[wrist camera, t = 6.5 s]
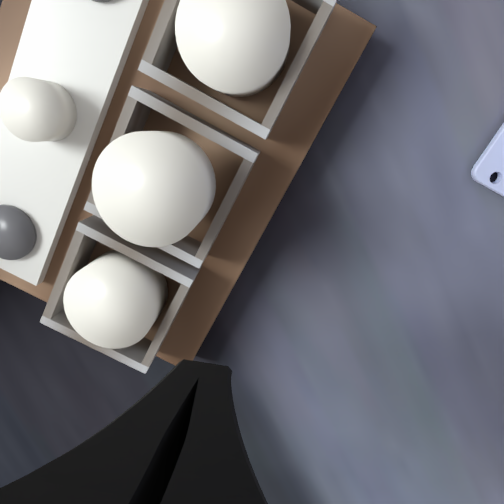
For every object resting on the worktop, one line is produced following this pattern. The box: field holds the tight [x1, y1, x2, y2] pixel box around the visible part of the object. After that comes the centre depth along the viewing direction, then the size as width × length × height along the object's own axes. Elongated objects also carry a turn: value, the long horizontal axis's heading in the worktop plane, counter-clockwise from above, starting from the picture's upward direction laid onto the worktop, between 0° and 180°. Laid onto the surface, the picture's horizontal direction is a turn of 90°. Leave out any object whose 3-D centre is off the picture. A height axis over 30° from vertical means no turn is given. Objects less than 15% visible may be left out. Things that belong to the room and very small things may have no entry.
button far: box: [63, 250, 168, 349], centre depth 18 cm, size 4×4×2 cm
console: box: [0, 0, 377, 374], centre depth 18 cm, size 14×18×4 cm
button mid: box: [92, 131, 216, 247], centre depth 15 cm, size 4×4×2 cm
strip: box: [0, 0, 149, 286], centre depth 17 cm, size 4×16×2 cm, turn 152°
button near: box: [175, 0, 291, 97], centre depth 15 cm, size 4×4×2 cm
